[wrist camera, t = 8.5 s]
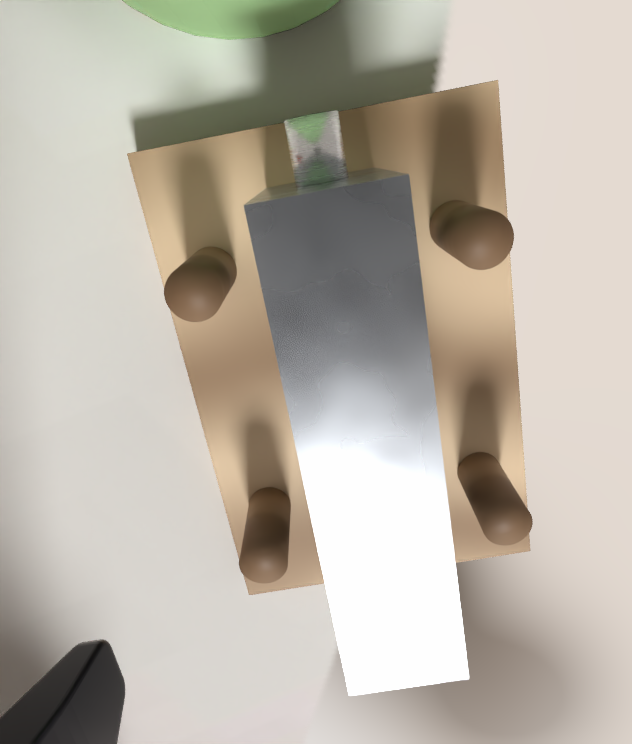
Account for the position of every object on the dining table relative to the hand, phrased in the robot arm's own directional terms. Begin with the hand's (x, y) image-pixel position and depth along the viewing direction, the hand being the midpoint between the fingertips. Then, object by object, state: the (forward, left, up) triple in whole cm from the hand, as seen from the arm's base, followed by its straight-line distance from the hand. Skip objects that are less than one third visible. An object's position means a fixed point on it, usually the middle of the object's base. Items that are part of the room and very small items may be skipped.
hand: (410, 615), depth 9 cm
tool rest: (0, 0, -11) cm, 11 cm away
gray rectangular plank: (0, 0, -10) cm, 10 cm away
